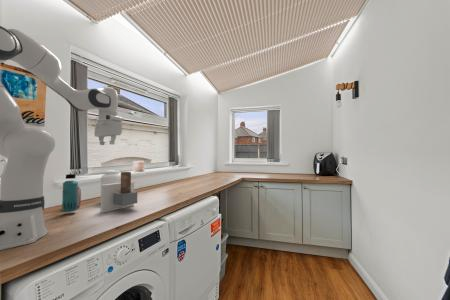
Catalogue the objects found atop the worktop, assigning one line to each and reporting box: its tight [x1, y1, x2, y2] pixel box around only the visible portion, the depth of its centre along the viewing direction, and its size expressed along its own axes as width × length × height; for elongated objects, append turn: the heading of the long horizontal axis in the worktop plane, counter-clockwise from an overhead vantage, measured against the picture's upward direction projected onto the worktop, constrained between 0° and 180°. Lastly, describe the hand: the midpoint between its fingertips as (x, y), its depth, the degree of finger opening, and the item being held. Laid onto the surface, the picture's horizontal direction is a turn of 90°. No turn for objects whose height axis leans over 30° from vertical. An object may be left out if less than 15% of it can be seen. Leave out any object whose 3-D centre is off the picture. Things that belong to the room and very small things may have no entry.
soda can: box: [77, 185, 82, 209], centre depth 119 cm, size 7×7×12 cm
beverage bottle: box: [61, 173, 79, 213], centre depth 108 cm, size 6×7×20 cm
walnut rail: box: [120, 171, 132, 194], centre depth 115 cm, size 4×4×16 cm
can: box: [100, 169, 121, 186], centre depth 136 cm, size 12×12×20 cm
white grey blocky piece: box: [100, 181, 138, 213], centre depth 116 cm, size 18×12×14 cm, turn 148°
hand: (106, 144), depth 112 cm, fingers open, 8 cm apart
